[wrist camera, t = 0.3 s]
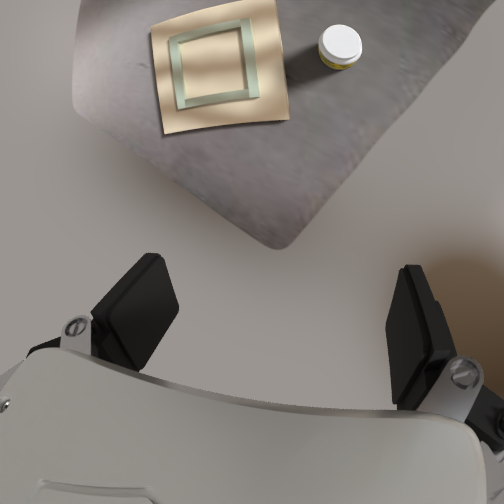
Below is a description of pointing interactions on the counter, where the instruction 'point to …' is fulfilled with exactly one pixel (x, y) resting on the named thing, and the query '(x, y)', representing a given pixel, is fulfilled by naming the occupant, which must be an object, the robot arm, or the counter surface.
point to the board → (220, 66)
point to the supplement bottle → (339, 47)
